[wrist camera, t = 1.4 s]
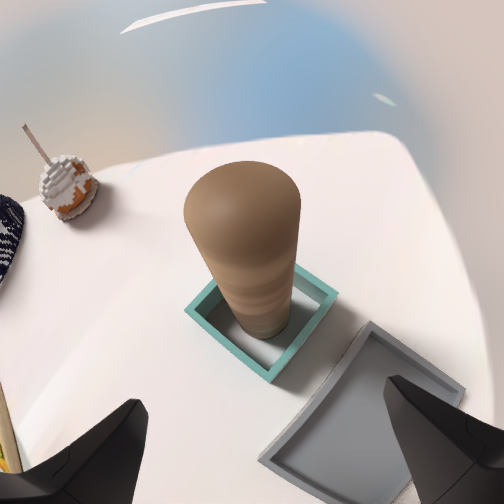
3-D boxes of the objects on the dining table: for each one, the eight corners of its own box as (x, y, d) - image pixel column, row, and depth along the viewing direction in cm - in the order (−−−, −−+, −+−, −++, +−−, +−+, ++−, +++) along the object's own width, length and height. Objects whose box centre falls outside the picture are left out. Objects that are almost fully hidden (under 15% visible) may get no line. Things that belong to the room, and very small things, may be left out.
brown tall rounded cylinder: (266, 349, 22) (247, 278, 8) (227, 317, 23) (161, 212, 10) (299, 309, 23) (323, 192, 10) (259, 281, 25) (237, 148, 12)
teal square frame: (270, 383, 20) (268, 383, 17) (194, 320, 23) (183, 310, 21) (332, 304, 23) (339, 292, 20) (256, 252, 26) (254, 235, 23)
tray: (364, 514, 13) (371, 522, 11) (259, 455, 17) (257, 460, 15) (454, 390, 17) (466, 388, 15) (362, 326, 22) (369, 320, 20)
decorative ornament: (107, 192, 33) (53, 107, 20) (67, 231, 30) (1, 156, 17) (88, 173, 36) (43, 100, 22) (53, 207, 33) (-1, 141, 20)
